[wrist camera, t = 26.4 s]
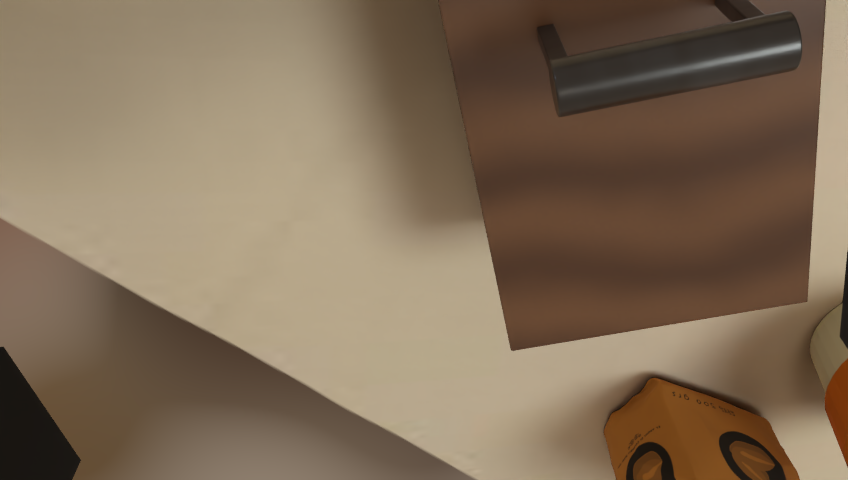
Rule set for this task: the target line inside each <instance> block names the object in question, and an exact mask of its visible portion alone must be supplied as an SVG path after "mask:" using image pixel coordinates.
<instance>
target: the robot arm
mask: <svg viewBox="0 0 848 480" xmlns="http://www.w3.org/2000/svg"><path fill="white" fill-rule="evenodd" d="M839 337H840V338H841V340H842V341H843V343H844V344H845V346H846V347H847V349H848V252H847V262H846V273H845V283H844V294H843V304H842V315H841V326H840V336H839ZM80 461H81V460H80V458H79V457H78V455H77V454H76V452H75V451H74V450H73V448H72V447H71V445H70V444H69V442H68V441H67V439H66V438H65V436H64V435H63V433H62V432H61V431H60V429H59V428H58V426H57V425H56V423H55V422H54V420H53V419H52V417H51V416H50V414H49V413H48V412H47V410H46V408H45V407H44V406H43V404H42V403H41V401H40V400H39V398H38V397H37V395H36V394H35V392H34V391H33V389H32V388H31V387H30V385H29V384H28V382H27V381H26V379H25V378H24V376H23V375H22V373H21V372H20V370H19V369H18V367H17V366H16V364H15V363H14V362H13V360H12V359H11V357H10V356H9V354H8V353H7V351H6V350H5V348H4V347H0V480H72V479H73V476H74V474H75V472H76V470H77V468H78V465H79V463H80Z"/></svg>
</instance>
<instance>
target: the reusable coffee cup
mask: <svg viewBox="0 0 848 480" xmlns="http://www.w3.org/2000/svg"><path fill="white" fill-rule="evenodd" d="M842 304H843V303H841V304H840V305H839V306H837V307H836V308H835V309H833V310H832V311H831V312H830V313H828V314H827V315H826V316H825V317H824V318H823V319H822V321H821V322H820V323H819V325H818V326H817V328H816V329H815V331H814V334H813V336H812V338H811V343H810V356H811V359H812V361H813V364H814V366H815V369H816V371H817V374H818V376H819V379H820V381H821V384H822V386H823V389H824V391H825V398H824V399H825V410H826V413H827V415H828V418H829V421H830V423H831V426H832V428H833V431H834V433H835V436H836V438H837V441H838V444H839V446H840V449H841V451H842V454H843V456H844V459H845V461H846V464H847V466H848V349H847V347H846V346H845V344H844V343H843V341H842V340H841V338H840V337H839V336H840V326H841V315H842Z"/></svg>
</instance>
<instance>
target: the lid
mask: <svg viewBox="0 0 848 480" xmlns="http://www.w3.org/2000/svg"><path fill="white" fill-rule="evenodd" d="M438 3H439V7H440V12H441V17H442V22H443V27H444V31H445V36H446V41H447V46H448V51H449V55H450V60H451V65H452V70H453V75H454V79H455V84H456V89H457V94H458V99H459V103H460V108H461V113H462V118H463V123H464V127H465V132H466V137H467V142H468V146H469V151H470V156H471V161H472V166H473V170H474V175H475V180H476V185H477V190H478V194H479V199H480V204H481V209H482V214H483V218H484V223H485V228H486V233H487V238H488V242H489V247H490V252H491V257H492V262H493V266H494V271H495V276H496V281H497V285H498V290H499V295H500V300H501V305H502V309H503V314H504V319H505V324H506V329H507V333H508V338H509V343H510V348H511V350H512V351H514V350H520V349H526V348H532V347H538V346H544V345H550V344H556V343H562V342H568V341H574V340H580V339H586V338H592V337H598V336H604V335H610V334H616V333H622V332H628V331H634V330H640V329H646V328H652V327H658V326H664V325H670V324H676V323H682V322H688V321H694V320H700V319H706V318H712V317H718V316H724V315H730V314H736V313H742V312H748V311H754V310H760V309H766V308H772V307H778V306H784V305H790V304H796V303H802V302H807V297H808V281H809V265H810V249H811V233H812V217H813V201H814V184H815V168H816V152H817V136H818V120H819V104H820V88H821V72H822V56H823V40H824V24H825V7H826V0H438Z"/></svg>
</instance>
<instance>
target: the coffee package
mask: <svg viewBox="0 0 848 480" xmlns="http://www.w3.org/2000/svg"><path fill="white" fill-rule="evenodd" d="M604 435H605V438H606V442H607V445H608V449H609V453H610V458H611V462H612V466H613V469H614V472H615V476H616V480H800V479H799V476H798V473H797V471H796V469H795V467H794V466H793V464H792V463H791V461H790V460H789V458H788V456H787V455H786V453H785V451H784V449H783V448H782V447H781V445H780V443H779V441H778V439H777V437H776V435H775V433H774V431H773V430H772V427H771V425H770V423H769V422H768V421H767V420H766V419H765V418H763V417H760V416H758V415H755V414H752V413H750V412H748V411H746V410H743V409H740V408H737V407H735V406H733V405H731V404H728V403H726V402H723V401H721V400H719V399H716V398H713V397H711V396H708V395H705V394H702V393H699V392H696V391H693V390H690V389H687V388H684V387H681V386H678V385H675V384H672V383H669V382H667V381H664V380H661V379H658V378H651V379H650V380H648V381H647V383H646V385H645V387H644V388H643V389H642V391H641V392H640V393H639V394H637V395H635V396H634V397H632V398H631V400H630V401H629V402H628V403H627V404H626V405H625V406H623V407H622V408H621V409H620V410H618V411H615V412H613V413H612V414H611V416H610V418H609V420H608V422H607V424H606V427H605V429H604Z"/></svg>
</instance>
